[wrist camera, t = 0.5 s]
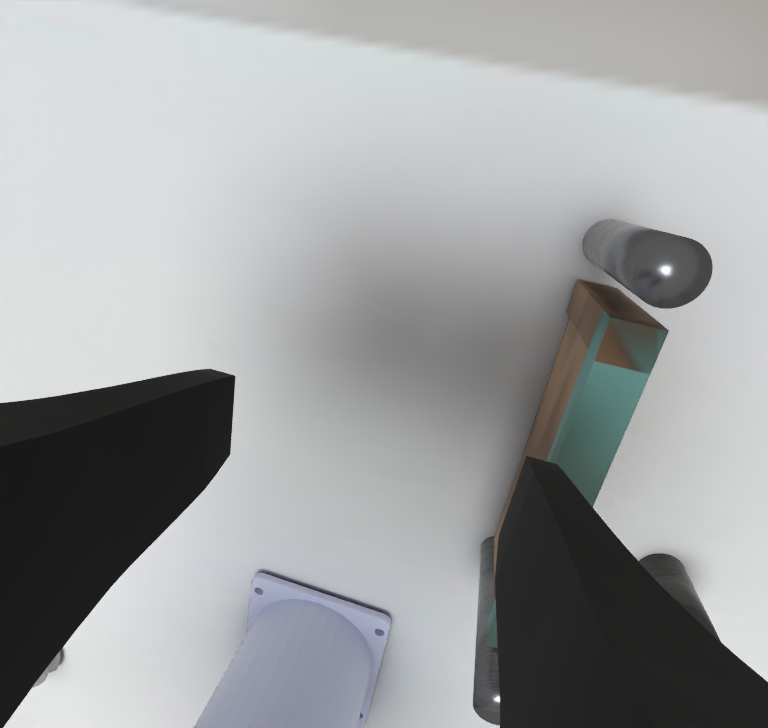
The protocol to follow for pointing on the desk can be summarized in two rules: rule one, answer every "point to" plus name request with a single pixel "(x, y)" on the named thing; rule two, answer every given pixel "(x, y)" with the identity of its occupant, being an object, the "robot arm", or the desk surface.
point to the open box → (590, 392)
